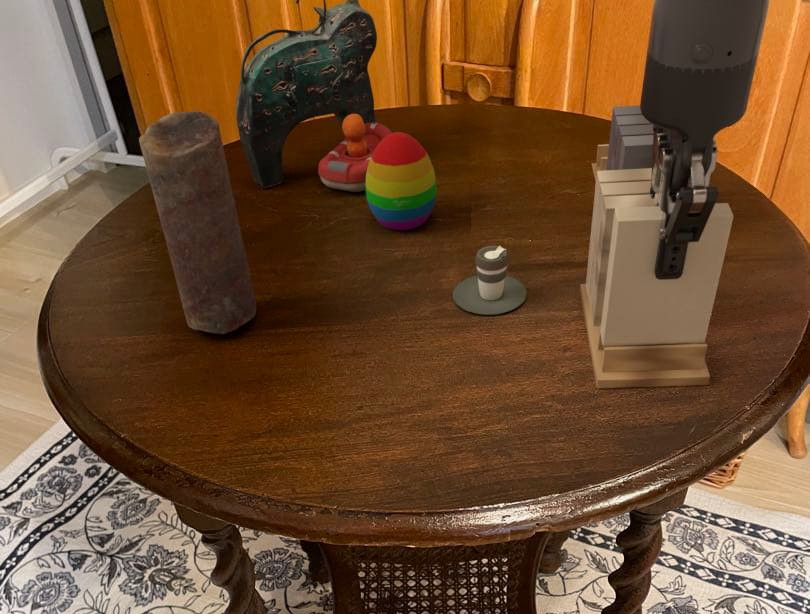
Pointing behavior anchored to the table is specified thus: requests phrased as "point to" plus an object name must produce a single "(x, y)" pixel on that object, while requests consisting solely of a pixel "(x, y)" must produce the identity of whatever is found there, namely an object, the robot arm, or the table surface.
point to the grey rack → (627, 142)
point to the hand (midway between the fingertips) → (664, 267)
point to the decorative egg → (400, 182)
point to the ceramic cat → (304, 83)
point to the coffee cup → (490, 285)
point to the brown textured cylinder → (199, 220)
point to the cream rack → (608, 361)
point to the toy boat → (352, 155)
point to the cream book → (660, 281)
